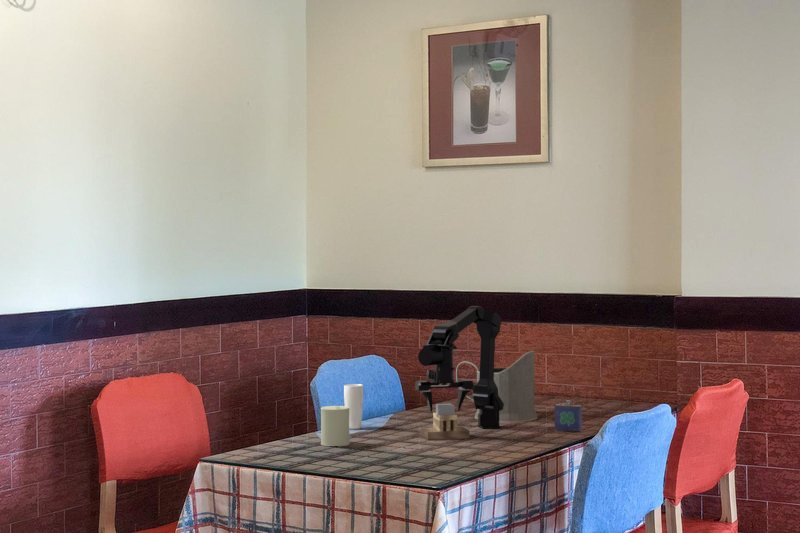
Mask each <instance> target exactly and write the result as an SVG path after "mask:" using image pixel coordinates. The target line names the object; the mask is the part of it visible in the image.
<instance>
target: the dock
mask: <svg viewBox="0 0 800 533" xmlns="http://www.w3.org/2000/svg"><path fill="white" fill-rule="evenodd" d="M470 433H471V432H470V429H468V428H466V427H464V426H462V425H461V426H460V425H459V426H458V425H457V431H453V430H451V429H450V431H446V430H444V429H443V431H438V430H436V429H435V428H433V427H421V428H420V436H421V437H423V438H424V439H425V440H427V441H434V440H435V441H436V440H456V439H457V440H458V439H459V440H460V439H462V440H463V439H470V438H471V437H470V435H471V434H470Z"/></svg>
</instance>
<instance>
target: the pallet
mask: <svg viewBox="0 0 800 533" xmlns="http://www.w3.org/2000/svg"><path fill="white" fill-rule="evenodd" d="M432 418H433V420H432V422H433V423H432V428H435V429H436V430H438V431H443V429H444V430H446V431H450V429H451V430H453V431H457V426H458V414H456V413H455V415H438V414H437V413H436V412H432Z"/></svg>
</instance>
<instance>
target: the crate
mask: <svg viewBox="0 0 800 533" xmlns="http://www.w3.org/2000/svg"><path fill="white" fill-rule="evenodd" d="M455 406H456V405H455V404H452V403H436V404H435V413H437V414H438V415H455V414H456V412H455V411H456V410H455V409H456V407H455Z"/></svg>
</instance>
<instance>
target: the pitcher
mask: <svg viewBox="0 0 800 533" xmlns="http://www.w3.org/2000/svg"><path fill="white" fill-rule="evenodd" d="M463 363H464V364H465V363H466V364H469V365H472V366H473V367H474V368H475V370H476V384H477V383H478V381H479V375H480V368H479V367H478V366H477V365H476V364H475V363H473V362H472V361H467V360H466V361H465V360H464V361H461V362H459V363H458V364H457V366H456V371H455V382H458V380H459V368H460V366H461V365H462V364H463ZM494 382H495V384H496V386H497V388H498V396H499V397H500V399H501V400H502V402H503V403H504V406H503V410H501V411H499V423H517V422H519V423H520V422H521V421H522V422H530V421H535V420H537V419H538V415H537V412H536V409H535V351H534V350H530V351H528V352H526V353H524V354H523V355H522V356H520V357H519V358H518V359H517V360H515V361H514V362H513V363H512V364H511V365H510V366H508V367H494ZM465 398H468V399H469V400H471V401H473V402H474V400H473V397H471V396H469V394H468V393H467V394H466V396H465ZM491 407H492V406H491ZM478 414H479V409H476V412H475V414H474V419H476V420H478ZM534 419H535V420H534ZM522 422H521V423H522Z"/></svg>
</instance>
